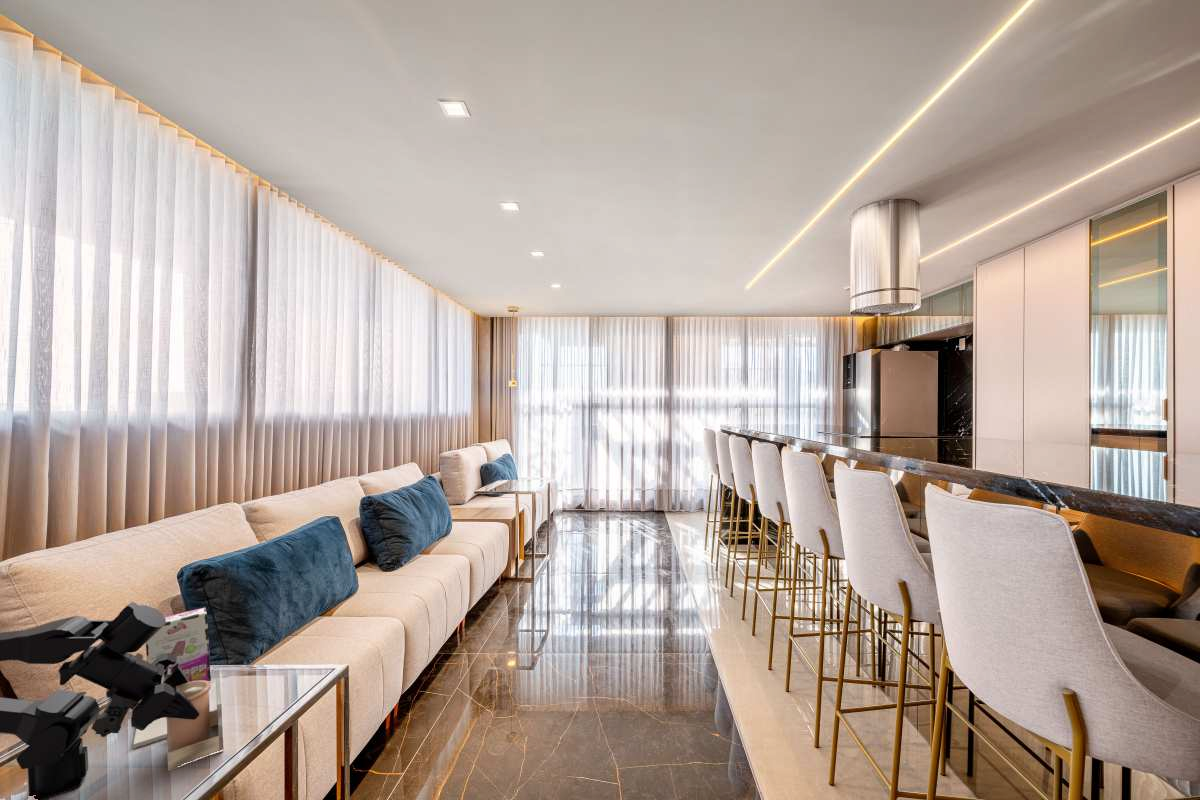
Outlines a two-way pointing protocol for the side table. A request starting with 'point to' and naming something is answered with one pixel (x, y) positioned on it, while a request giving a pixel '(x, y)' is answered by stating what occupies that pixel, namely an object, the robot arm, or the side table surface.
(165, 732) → the ceramic tile
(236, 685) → the side table surface
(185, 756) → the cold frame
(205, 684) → the terracotta pot
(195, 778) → the side table surface
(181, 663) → the candy bar box
